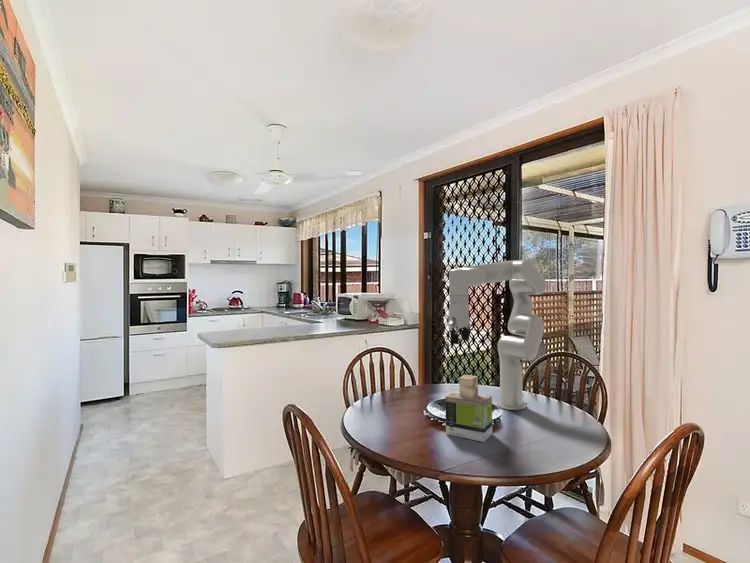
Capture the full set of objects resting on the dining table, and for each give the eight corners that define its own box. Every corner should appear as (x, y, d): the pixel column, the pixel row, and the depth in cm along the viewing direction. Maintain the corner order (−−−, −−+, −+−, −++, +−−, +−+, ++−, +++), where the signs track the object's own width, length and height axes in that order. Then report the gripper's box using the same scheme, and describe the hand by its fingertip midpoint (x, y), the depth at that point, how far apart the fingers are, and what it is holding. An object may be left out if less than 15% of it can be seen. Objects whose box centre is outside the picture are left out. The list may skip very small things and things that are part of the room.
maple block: (466, 392, 162) (465, 374, 162) (478, 395, 159) (477, 376, 159) (459, 395, 158) (459, 377, 158) (471, 398, 155) (471, 379, 155)
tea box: (493, 434, 159) (492, 395, 159) (483, 443, 151) (483, 402, 150) (455, 426, 168) (455, 389, 167) (445, 434, 159) (444, 395, 159)
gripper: (460, 297, 179) (461, 337, 180) (440, 301, 165) (441, 344, 166) (476, 298, 175) (477, 339, 175) (457, 301, 161) (459, 346, 161)
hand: (460, 341), depth 171 cm, fingers open, 9 cm apart
